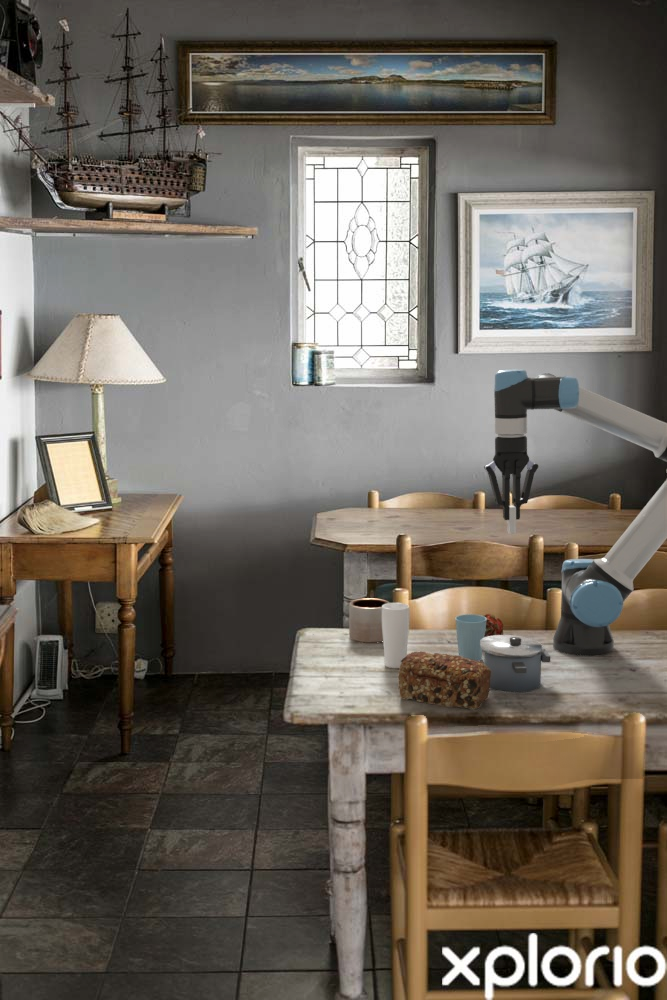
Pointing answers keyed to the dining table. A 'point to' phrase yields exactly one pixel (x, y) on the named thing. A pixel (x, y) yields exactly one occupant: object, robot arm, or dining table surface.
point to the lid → (511, 646)
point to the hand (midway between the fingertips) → (511, 532)
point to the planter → (366, 620)
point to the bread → (444, 680)
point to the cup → (470, 635)
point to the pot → (515, 672)
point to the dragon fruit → (493, 626)
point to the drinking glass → (395, 633)
